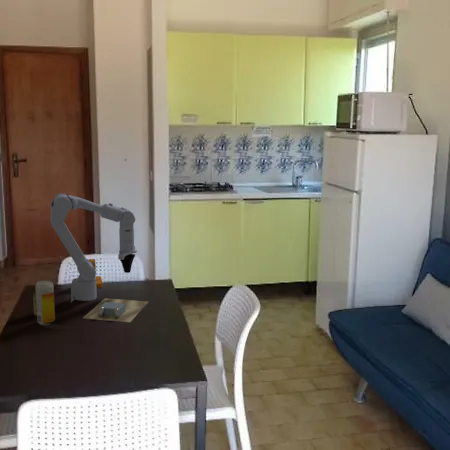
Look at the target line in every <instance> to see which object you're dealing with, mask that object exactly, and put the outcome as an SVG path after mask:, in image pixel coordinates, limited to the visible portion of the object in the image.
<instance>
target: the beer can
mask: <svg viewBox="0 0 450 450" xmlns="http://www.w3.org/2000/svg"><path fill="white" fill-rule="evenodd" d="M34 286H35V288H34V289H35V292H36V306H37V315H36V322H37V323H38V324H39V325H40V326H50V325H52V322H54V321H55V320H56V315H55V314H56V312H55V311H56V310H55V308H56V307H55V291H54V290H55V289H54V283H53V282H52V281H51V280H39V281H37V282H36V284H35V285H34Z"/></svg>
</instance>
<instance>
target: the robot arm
mask: <svg viewBox="0 0 450 450" xmlns="http://www.w3.org/2000/svg"><path fill="white" fill-rule="evenodd" d="M71 209H72V210H73V211H75V210H78V209H83V210H86V211H87V210H88V211H91V212H94V213H97V214H99V215H100V217H101V218H102V219H106V220H109V221H112V222H116V223H118V222H119V229H118V231H119V250H118V252H119V253H118V258H117V259H118V260H119V261H120V263H121V265H122V268H123V272H124V273H126V274H130V272H131V269H132V265H133V262H134V259H135V258H136V254H137V252H138V250H137V249H136V246H135V228H134V223H135V222H136V217H135V215H134V213H133V212H132V211H130V210H129V209H128V208H124V207H118V206H116V205H114V204H113V203H112V202H109V203H104V204H99V203H96V202H93V201H91V200H87V199H84V198H81V197H79V196H76V195H71V194H68V195H67V194H66V193H61V192H60V193H57V194H55V196H54V198H53V199H52V201H51V204H50V215H49V216H50V218H49V221H50V224H51V227H52V228H53V229H54V231H55V233H56V234H57V237H58V238H59V240H60V241H61V243H62V244H63V246H64V247H65V249H66V251H67V252H68V254H69V255H70V257H71V258H72V261H73V262H74V264H75V266H76V268H77V272H78V274H79V275H78V276H77V278H73V279H72V280H71V283H70V296H71V297H70V298H71V300H70V303H72V302H74V301H75V300H77V301H82V302H89V301H91V302H92V301H94V300H96V299H97V297H98V295H97V288H96V277H95V276H97V270H95V269H94V267H93V264H92V263H91V262H90V261H89V260H87V257H86V256H85V254H84V253H83V251H82V249H81V248H80V246H79V245H78V243H77V241H76V239H75V238H74V236H73V234H72V233H71V231H70V230H69V228H68V226H67V224H66V223H65V220H66V217H67V215H68V214H69V213H70V211H71Z"/></svg>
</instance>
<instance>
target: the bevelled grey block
mask: <svg viewBox="0 0 450 450" xmlns="http://www.w3.org/2000/svg"><path fill="white" fill-rule="evenodd" d="M101 306H102V307H104V316H114V308H120V317H121V316H122V315H123V314H124V313H125V312H126V304H123V303H111V302H105V303H104V304H103V305H101ZM101 306H100V307H101Z"/></svg>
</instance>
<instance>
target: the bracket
mask: <svg viewBox="0 0 450 450" xmlns="http://www.w3.org/2000/svg"><path fill="white" fill-rule="evenodd" d="M86 259H87V258H86ZM87 260H89V261H90V262H91V263H92V264H93V267H94V269H95V270H96V267H97V266H96V259H95V258H90V259H89V258H88V259H87ZM96 271H97V270H96ZM95 277H96V289H101V288H103V287H104V285H103V280H102V276H100V275H96V276H95Z"/></svg>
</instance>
